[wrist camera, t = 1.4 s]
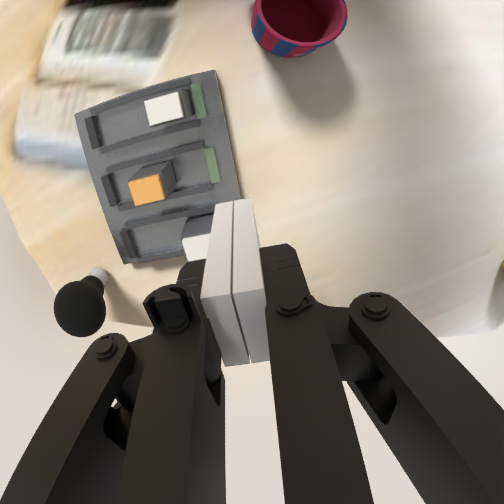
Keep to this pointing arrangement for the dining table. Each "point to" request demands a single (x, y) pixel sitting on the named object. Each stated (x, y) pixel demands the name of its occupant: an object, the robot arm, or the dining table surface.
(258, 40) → the mug
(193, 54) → the dining table surface
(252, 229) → the robot arm
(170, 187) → the block
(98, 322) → the light bulb
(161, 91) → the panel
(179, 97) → the breaker
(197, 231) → the breaker
